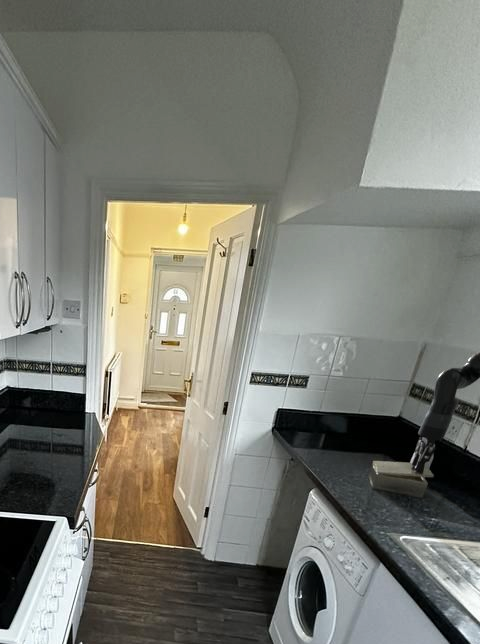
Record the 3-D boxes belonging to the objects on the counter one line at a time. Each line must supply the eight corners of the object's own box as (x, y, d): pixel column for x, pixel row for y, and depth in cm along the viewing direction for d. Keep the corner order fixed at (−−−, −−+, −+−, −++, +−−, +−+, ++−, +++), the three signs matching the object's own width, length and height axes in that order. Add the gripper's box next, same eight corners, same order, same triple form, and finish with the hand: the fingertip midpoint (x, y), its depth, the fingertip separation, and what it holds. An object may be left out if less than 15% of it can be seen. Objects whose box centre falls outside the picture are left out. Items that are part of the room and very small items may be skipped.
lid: (424, 465, 160) (427, 451, 158) (433, 477, 148) (436, 462, 146) (372, 462, 167) (374, 449, 165) (377, 474, 156) (379, 459, 154)
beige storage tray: (414, 485, 163) (420, 471, 161) (422, 498, 152) (428, 483, 149) (368, 476, 170) (372, 462, 167) (371, 488, 158) (376, 474, 156)
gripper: (453, 431, 141) (432, 477, 148) (442, 422, 153) (424, 464, 160) (427, 427, 144) (408, 471, 151) (418, 418, 156) (401, 460, 163)
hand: (416, 467), depth 155 cm, fingers closed on lid, 5 cm apart
